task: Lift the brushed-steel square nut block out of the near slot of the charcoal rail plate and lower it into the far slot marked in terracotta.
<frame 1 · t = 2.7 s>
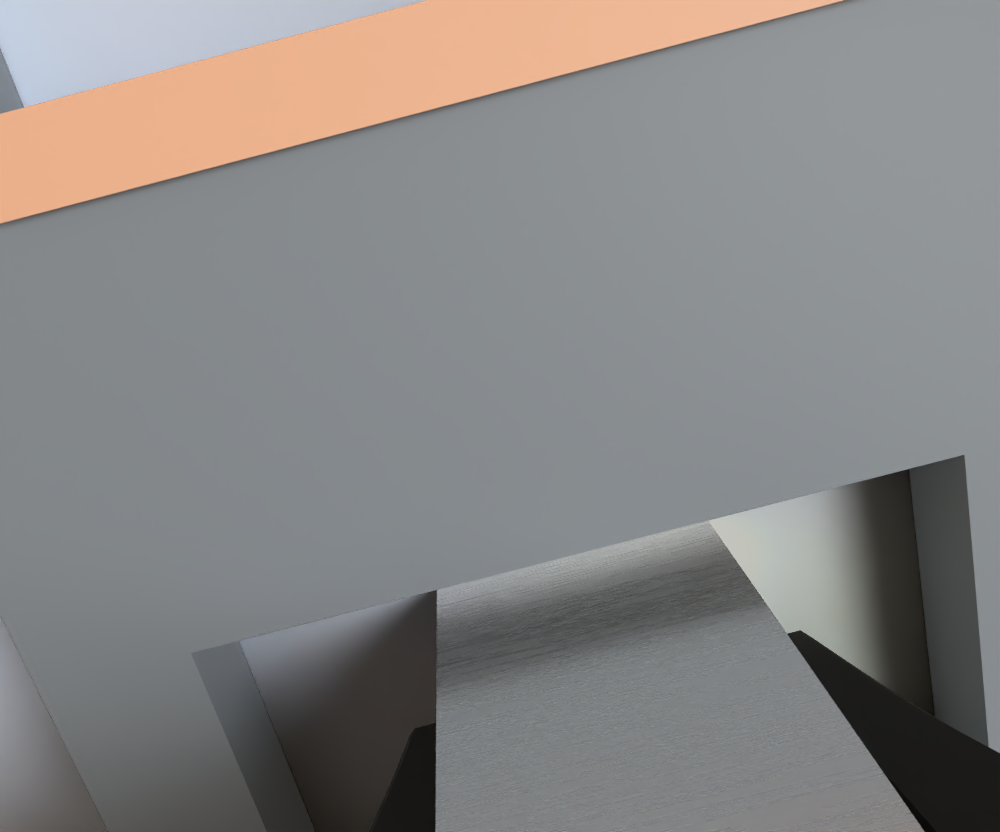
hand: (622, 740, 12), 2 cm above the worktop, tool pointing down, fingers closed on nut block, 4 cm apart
nut block: (599, 665, 13), resting in rail plate, touching gripper
rail plate: (504, 284, 11), on the worktop
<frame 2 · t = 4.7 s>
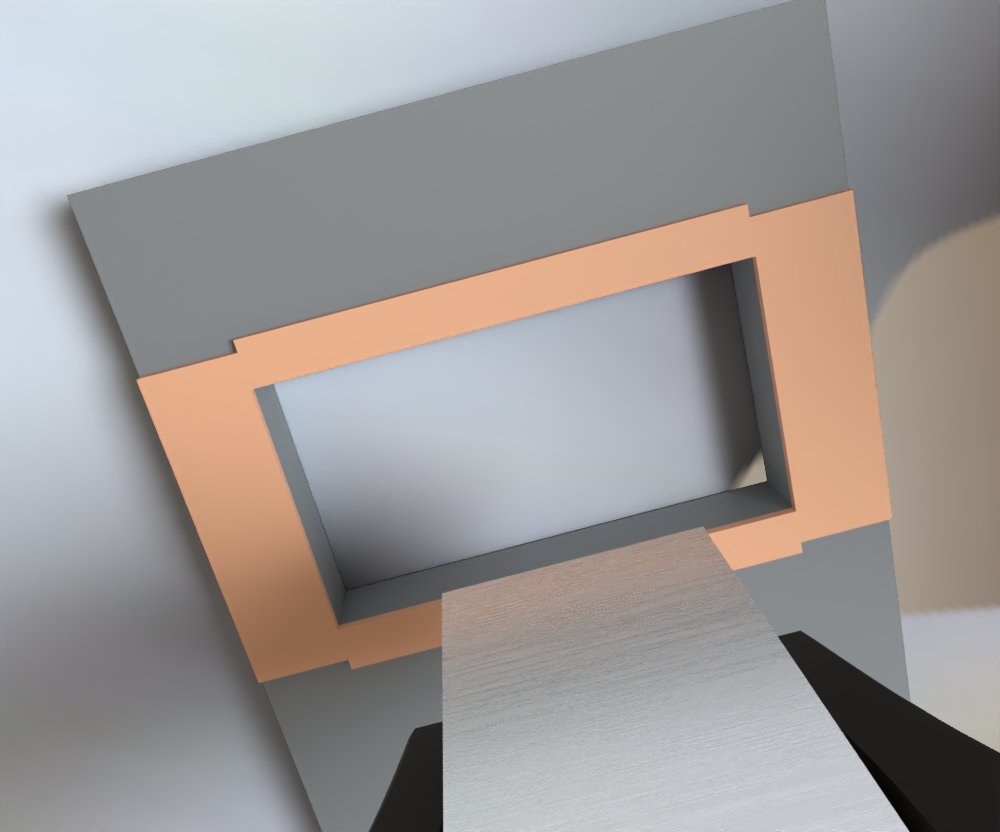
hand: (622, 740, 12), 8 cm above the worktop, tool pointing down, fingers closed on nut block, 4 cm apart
nut block: (600, 671, 14), point 7 cm above the worktop, touching gripper
rail plate: (586, 654, 21), on the worktop
when the fingers open (2 cm above the worktop, at t = 6.9 s): nut block stays where it is, resting in rail plate.
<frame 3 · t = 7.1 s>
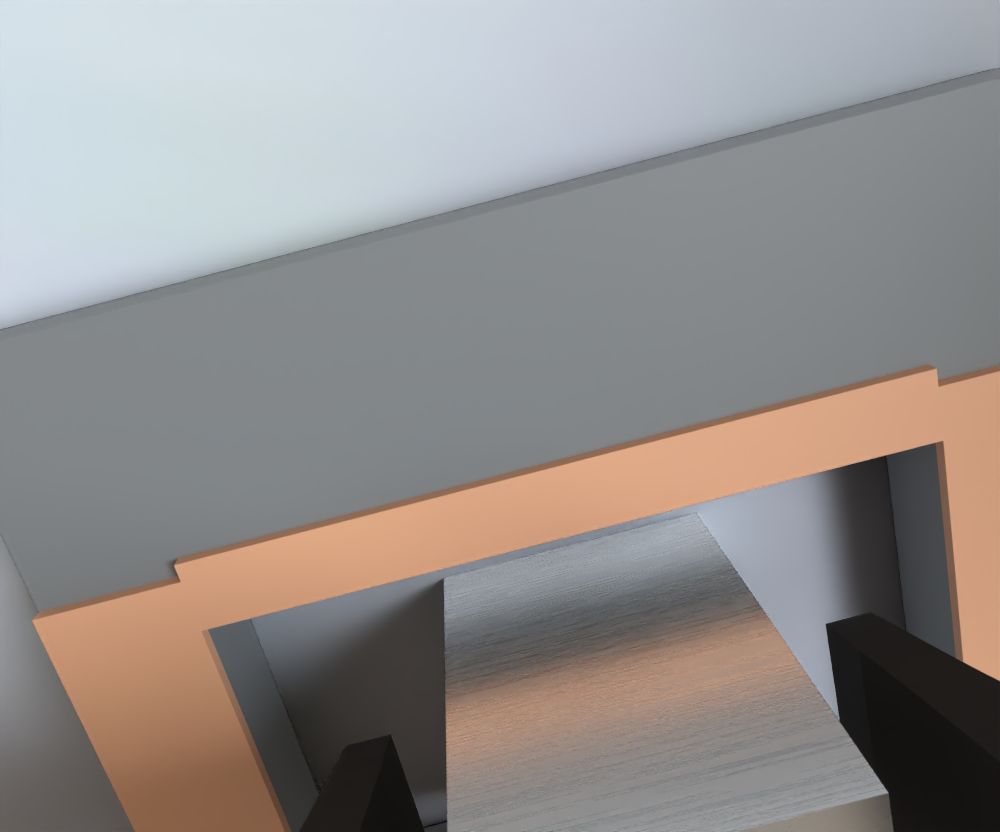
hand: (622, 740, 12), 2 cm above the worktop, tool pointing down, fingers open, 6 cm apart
nut block: (596, 653, 14), resting in rail plate
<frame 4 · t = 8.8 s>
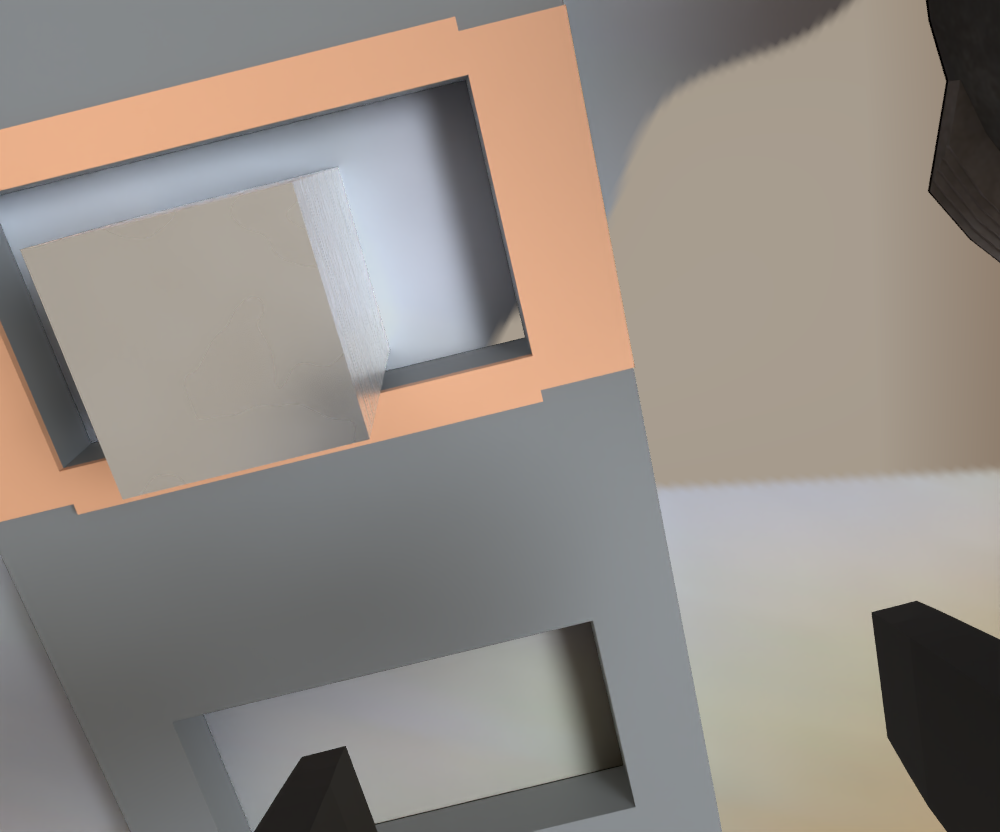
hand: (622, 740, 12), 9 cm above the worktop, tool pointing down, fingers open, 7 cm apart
nut block: (274, 283, 19), resting in rail plate
rail plate: (348, 519, 20), on the worktop
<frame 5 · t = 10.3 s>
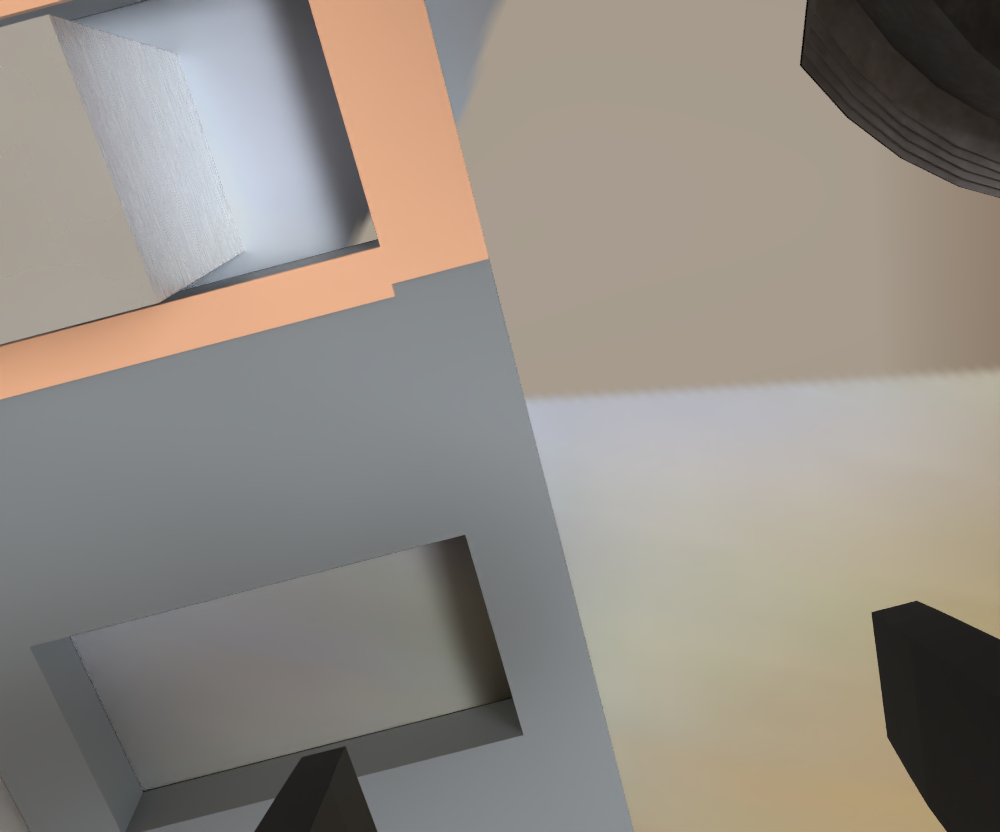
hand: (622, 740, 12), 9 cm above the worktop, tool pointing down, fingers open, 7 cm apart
nut block: (118, 180, 18), resting in rail plate
rail plate: (212, 434, 20), on the worktop
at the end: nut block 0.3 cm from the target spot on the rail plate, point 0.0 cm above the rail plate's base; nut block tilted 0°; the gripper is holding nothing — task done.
